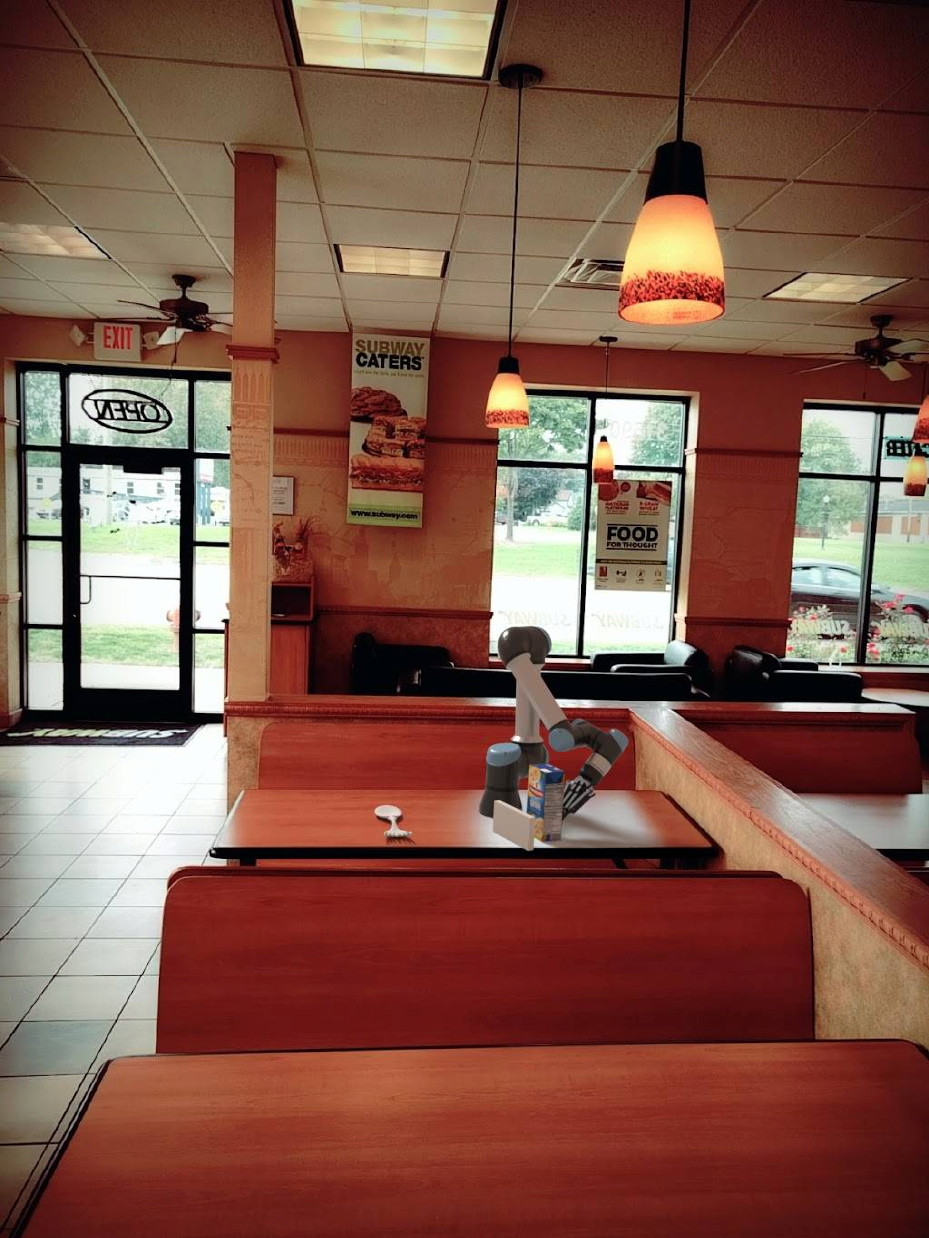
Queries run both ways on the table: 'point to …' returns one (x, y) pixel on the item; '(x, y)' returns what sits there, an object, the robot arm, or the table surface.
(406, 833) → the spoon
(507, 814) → the board
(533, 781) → the beverage box
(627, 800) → the table surface
